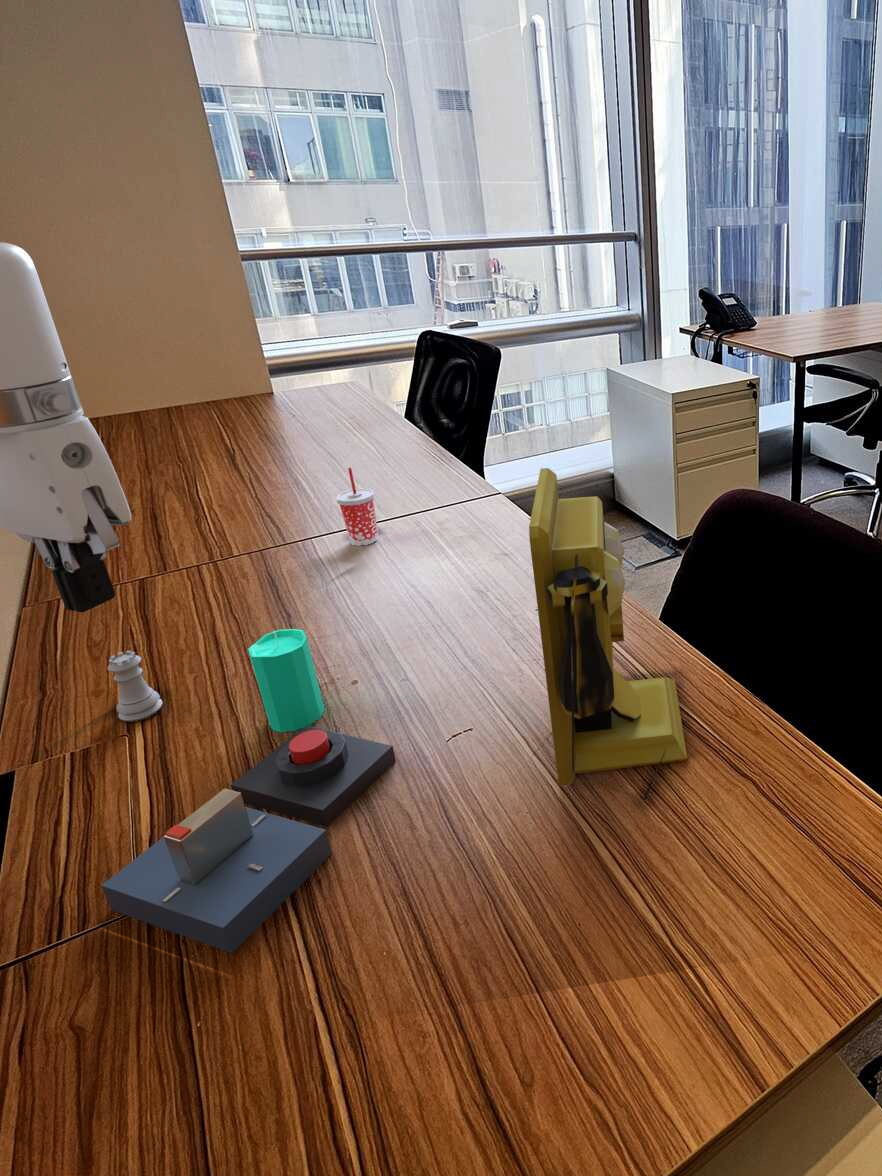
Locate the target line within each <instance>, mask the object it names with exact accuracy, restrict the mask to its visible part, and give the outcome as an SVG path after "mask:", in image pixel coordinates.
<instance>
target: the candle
mask: <svg viewBox="0 0 882 1176" xmlns="http://www.w3.org/2000/svg"><path fill="white" fill-rule="evenodd" d="M307 638H308V637H307V635H306V633H305V631H304V630H303V629H296V628H287V629H284V628H283V629H277V630H273V631H272V632H269V633H266V634H264V635H262V636H261V637H260V638H259V639H258V640H257V641H256V642H254V643H253V644H252V645H251V646H250V647H248V648H247V651H248V654H249V658H250V661H251V665H252V668H253V672H254V675H255V679H256V683H257V685H258V690H259V693H260V697H261V699H262V704H263V708H264V710H265V713H266V714H265V715H266V717H267V721H268V724H269V726H271V727H270V729H271V730H272V729H273V730H272V731H275V730H276V732H279V733H288V732H287V731H290V732H297V731H299V730H301V728H304V727H305V726H306V725H308V726H309V725H310V726H312V725H313V724H314V723H316V722H317V721H318V720H319V719H321V718H322V716H323V714H324V712H325V706H324V705H325V704H324V700H323V697H322V694H321V689H320V685H319V681H318V678H317V673H316V669H315V665H314V661H313V659H312V658H313V656H312V654H311V649H310V645H309V641H308V639H307ZM320 717H321V718H320ZM316 720H317V721H316ZM312 723H313V724H312ZM298 729H299V730H298ZM296 730H297V731H296Z"/></svg>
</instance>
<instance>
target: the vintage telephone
mask: <svg viewBox="0 0 882 1176" xmlns="http://www.w3.org/2000/svg"><path fill="white" fill-rule="evenodd" d="M558 487H559V486H558V477H557V473H556V472H554V471H553V470H552V469H550V468H549V467H544V468H543V467H541V468H540V470H539V473H538V480H537V484H536V490H535V494H534V499H533V505H532V509H531V510H532V511H531V515H530V520H529V525H528V535H529V537H528V538H529V546H530V547H529V548H530V554H531V563H532V571H533V581H534V588H535V595H536V606H537V613H538V622H539V631H540V639H541V648H542V655H543V663H544V673H545V682H546V688H547V689H546V690H547V698H548V706H549V714H550V715H549V716H550V723H551V731H552V739H553V748H554V757H555V763H556V773H557V782H558V787H565V786H568V785H570V784H571V783H572V782H573V781H574V779H575V777H576V775H577V776H579V777H580V776H581V778H582V777H583V778H585V779H587V780H590V781H593V782H595V783H597V784H599V785H603V786H605V787H608V788H610V789H612V790H615V791H618V792H620V793H624V794H625V795H628V796H631V797H633V798H635V799H637V800H640V801H644V802H646V801H647V798H648V796H649V793H650V790H651V788H652V786H653V783H654V781H655V778H656V775H657V773H658V771H659V768H660V765H661V764H669V763H668V762H670V763H676V762H675V761H678V762H684V761H686V760H687V759H688V754H687V748H686V747H687V746H686V742H685V735H684V728H683V723H682V716H681V709H680V704H679V698H678V697H679V696H678V691H677V690H678V689H677V686H676V679H675V678H669V677H655V678H654V677H653V678H646V679H645V678H643V679H638V680H637V679H636V680H628V681H627V679H625V678H624V677H623V675H621V674H620V673H619V672H618V671H617V670H615V669H614V652H613V651H614V647H613V645H614V643H620V642H625V632H624V619H623V607H622V606H623V605H622V604H623V598H624V591H625V585H626V579H625V576H624V574H623V573H624V572H623V570H622V566H623V562H624V561H623V560H624V554H625V548H624V546H623V542H622V539H621V536H620V534H619V531H618V529H616V528H615V527H613V526H612V525H610V524H609V523H608V522H606V521H604V509H603V501H602V500H601V499H600V498H599V496H598V495H597V496H596V495H595V496H582V497H568V498H567V497H566V498H560V497H559V488H558ZM660 763H661V764H660ZM652 765H657V768H656V770H655V772H654V774H653V777H652V779H651V781H650V783H649V786H648V788H647V790H646V792H645V795H644V797H643V799H641V798H639V797H636V796H634V795H631V794H629V793H626V792H624V791H622V790H619V789H616V788H614V787H611V786H609V785H607V784H604V783H602V782H599V781H597V780H595V779H591V778H589V777H587V776H584V775H582V774H584V773H585V774H586V773H593V772H600V771H603V772H604V771H610V770H619V769H626V768H627V769H628V768H635V767H643V766H644V767H645V766H652ZM577 773H578V774H577Z"/></svg>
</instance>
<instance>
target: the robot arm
mask: <svg viewBox="0 0 882 1176" xmlns="http://www.w3.org/2000/svg"><path fill="white" fill-rule="evenodd" d="M63 349H64V348H63V347H62V344H61V339H60V337H59V334H58V331H57V328H56V325H55V322H54V319H53V316H52V313H51V310H50V306H49V304H48V301H47V298H46V296H45V292H44V289H43V285H42V283H41V280H40V277H39V274H38V271H37V268H36V266H35V263H34V261H33V259H32V258H31V256H30V255H29V253H28V252H27V251H25V250H24V249H23V248H22V247H20V246H18V245H15V244H13V243H8V242H3V241H1V242H0V526H1V527H2V528H3V529H5V530H6V531H8V532H11V533H14V534H17V535H18V536H19V538H21V539H22V540H25V541H27V542H29V543H32V544H33V546H34V547H36V548H37V550H38V553H39V555H40V557H41V559H42V561H43V563H44V565H45V566H46V567H47V568H48V569H50V570H51V574H52V577H53V579H54V582H55V584H56V587H57V590H58V592H59V595H60V597H61V601H62V603H63V604H64V608H65V609H66V610H67V611H73V612H77V613H85V612H88V611H90V610H92V609H93V608H96V607H98V606H100V605H102V604H104V603H107V602H108V601H111V600H113V599H114V598H115V597H116V591H115V589H114V586H113V583H112V579H111V577H110V575H109V571H108V568H107V566H106V562H105V559H106V558H107V553H108V552H110V551H112V550H115V549H118V548H120V546H121V542H120V540H119V538H118V536H117V534H116V532H115V530H114V529H113V527H112V526H118V527H123V526H126V525H128V524H130V523H131V522H132V513H131V512H132V511H131V509H130V505H129V503H128V500H127V497H126V495H125V492H124V490H123V487H122V484H121V481H120V480H119V477H118V474H117V472H116V470H115V468H114V465H113V463H112V460H111V458H110V456H109V454H108V452H107V450H106V448H105V446H104V444H103V441H102V440H101V438H100V436H99V434H98V433H97V430H96V429H95V427H94V426H93V424H92V422H91V421H90V419H89V418H88V417H87V416H84V414H85V412H84V409H83V405H82V403H81V400H80V397H79V394H78V392H77V388H76V385H75V381H74V379H73V377H72V374H71V371H70V368H69V365H68V361H67V358H66V355H65V352H64V350H63Z"/></svg>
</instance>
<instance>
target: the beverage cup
mask: <svg viewBox="0 0 882 1176" xmlns="http://www.w3.org/2000/svg"><path fill="white" fill-rule="evenodd" d="M347 469H348V474H349V479H350V484H351V489H349V490H346V491H345V490H344V491H343V492H340V493H338V494H337V496H336V497H335V499H336V502H337V504H338V505H339V507H340V508H339V509H340V511H341V514H342V517H343V523H344V525H345V528H346V532H347V535H348V538H349V539H348V540H349V543H350V544H351V546H354V545H356V546H355V547H362V546H361V545H365V546H369V545H372V544H374V543H373V542H375V541H376V542H377V541H378V540H379V531H378V524H377V515H376V509H375V502H374V501H375V499H374V498H375V491H374V490H373V489H370V488H356V485H355V481H354V476H353V470H352V467H348V468H347ZM376 542H375V543H376ZM371 543H372V544H371ZM368 544H369V545H368Z"/></svg>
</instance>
